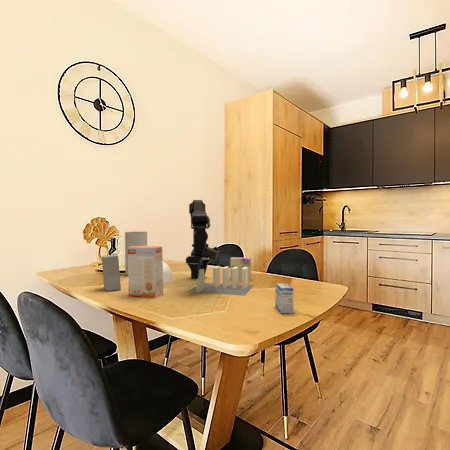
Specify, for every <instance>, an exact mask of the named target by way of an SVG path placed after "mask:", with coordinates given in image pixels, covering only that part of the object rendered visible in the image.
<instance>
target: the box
mask: <svg viewBox="0 0 450 450" xmlns="http://www.w3.org/2000/svg"><path fill="white" fill-rule="evenodd" d="M251 260H252V258H251V257H230V265H229V278H230V282H232V268H234V267H238V274H239V282H240V281H241V282H242V268H244V267H248V282H251V279H252V275H251V274H252V268H251V267H252V266H251V265H252V263H251Z"/></svg>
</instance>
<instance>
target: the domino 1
mask: <svg viewBox="0 0 450 450" xmlns="http://www.w3.org/2000/svg"><path fill="white" fill-rule="evenodd" d="M204 283H205V277H204V269H200V270H199V275H198V279H195V287H196V292H201V291H202V290H204Z"/></svg>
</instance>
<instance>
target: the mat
mask: <svg viewBox="0 0 450 450" xmlns="http://www.w3.org/2000/svg"><path fill="white" fill-rule="evenodd" d="M253 287H254V284H248V287H247V288H246V289H242V283H241V284H239V286H238V287H237V288H236V289H233V288H232V283H229V286H228V287H227V288H223V283H220V285H219V286H218V287H217V288H214V287H213V282H204V290H202V291H201V292H196V286H194V287H192V288H191V289H189V290H187V291H186V293H195V294H197V293H198V294H211V295H212V294H213V295H229V296H246V295H247V294H248V293H249V292H250V290H251V289H252V288H253Z"/></svg>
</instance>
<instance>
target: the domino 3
mask: <svg viewBox="0 0 450 450" xmlns="http://www.w3.org/2000/svg"><path fill="white" fill-rule="evenodd" d="M221 272H222V284H223V288H227V287H228V286H229V284H230V265H229V266H224V267H223V268H222V271H221Z"/></svg>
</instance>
